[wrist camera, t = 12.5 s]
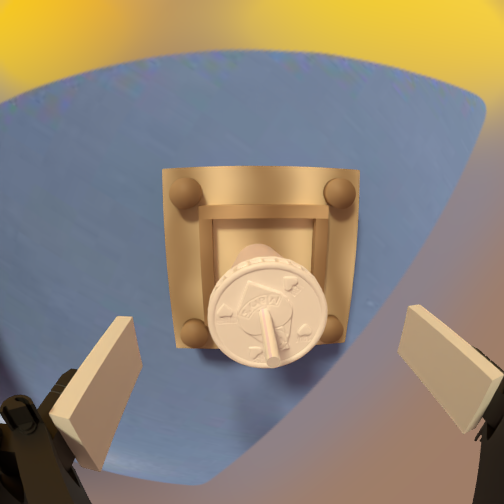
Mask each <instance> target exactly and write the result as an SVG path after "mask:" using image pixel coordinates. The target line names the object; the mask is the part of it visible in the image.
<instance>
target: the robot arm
mask: <svg viewBox="0 0 504 504" xmlns="http://www.w3.org/2000/svg"><path fill="white" fill-rule="evenodd" d="M398 354H399V355H400V356H401V357H402V358H403V360H404V361H405V362H406V363H407V364H408V365H409V367H410V368H411V369H412V370H413V372H414V373H415V374H416V375H417V376H418V378H419V379H420V380H421V381H422V382H423V384H424V385H425V386H426V387H427V389H428V390H429V391H430V392H431V393H432V395H433V396H434V397H435V398H436V400H437V401H438V402H439V403H440V405H441V406H442V407H443V408H444V410H445V411H446V412H447V414H448V415H449V416H450V417H451V419H452V420H453V421H454V422H455V424H456V425H457V426H458V428H459V429H460V430H461V432H462V433H463V434H464V433H466V432H468V431H470V430H472V429H474V428H476V426H477V425H478V423H479V421H480V420H481V418H482V417H483V418H484V419H485V423H484V425H483V426H482V428H481V429H480V431H479V433H478V434H477V436H476V437H475V441H477V439H478V438H479V436H480V435H482V438H481V439H480V442H481V453H480V462H479V469H478V476H477V482H476V488H475V493H474V498H473V503H472V504H504V371H503V370H502V369H501V368H500V367H498V366H497V365H496V364H495V363H494V362H493V361H490V359H489V358H488V357H487V356H485V355H484V354H483V353H482V352H481V351H480V350H479V349H477V348H475V347H473V346H471V345H469V344H468V343H467V342H466V341H465V340H463V339H462V338H461V337H460V336H459V335H457V334H456V333H455V332H454V331H452V330H451V329H450V328H449V327H447V326H446V325H445V324H444V323H442V322H441V321H440V320H439V319H437V318H436V317H435V316H434V315H432V314H431V313H430V312H429V311H427V310H426V309H425V308H423V307H422V306H421V305H413V306H408V309H407V314H406V319H405V323H404V328H403V332H402V337H401V340H400V344H399V348H398ZM141 369H142V361H141V357H140V352H139V348H138V343H137V338H136V333H135V328H134V323H133V317H125V316H117V317H116V319H115V320H114V321H113V323H112V324H111V325H110V327H109V328H108V329H107V331H106V332H105V333H104V335H103V336H102V337H101V339H100V340H99V341H98V343H97V344H96V345H95V347H94V348H93V349H92V351H91V352H90V354H89V355H88V356H87V358H86V359H85V361H84V362H83V363H82V365H81V366H80V368H79V369H78V370H77V369H70V370H69V371H67V372H66V373H64V374H63V375H62V376H61V377H60V378H59V380H58V381H57V382H56V385H54V387H53V388H52V389H51V392H49V394H48V395H47V396H46V398H45V399H44V401H43V402H42V403H41V405H40V406H39V408H38V409H36V407H35V405H34V403H33V401H32V399H31V398H29V397H28V396H25V395H14V396H12V397H9V398H8V399H6V400H5V401H4V402H3V403H2V405H1V407H0V414H1V416H2V417H3V419H4V420H5V422H6V424H2V423H0V504H92V503H91V502H90V500H89V498H88V496H87V494H86V492H85V490H84V488H83V486H82V484H81V482H80V480H79V477H78V476H77V473H76V471H75V469H74V468H73V466H72V463H73V461H74V459H75V458H76V460H77V461H78V463H79V464H80V465H81V467H84V468H88V469H91V470H95V471H99V472H101V469H102V466H103V464H104V461H105V458H106V455H107V453H108V450H109V447H110V445H111V442H112V439H113V437H114V434H115V432H116V429H117V427H118V424H119V422H120V419H121V416H122V414H123V412H124V409H125V407H126V404H127V402H128V399H129V397H130V394H131V392H132V390H133V387H134V385H135V383H136V380H137V378H138V376H139V373H140V371H141Z"/></svg>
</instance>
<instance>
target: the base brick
mask: <svg viewBox="0 0 504 504" xmlns="http://www.w3.org/2000/svg"><path fill="white" fill-rule="evenodd" d="M162 178H163V209H164V229H165V244H166V258H167V270H168V280H169V290H170V300H171V309H172V317H173V325H174V332H175V340H176V346H177V348H206V349H219V348H218V346H217V345H216V344H215V342H214V340H213V338H212V336H211V334H210V331H209V327H208V305H209V300H210V295H211V293H212V291H213V289H214V287H215V285H216V283H217V282H218V281H219V279H220V278H221V277H222V276H223V275H224V274H225V273H226V272H227V271H228V270H230V269H231V267H232V265H233V263H234V261H235V259H236V258H237V256H238V254H239V253H240V251H241V250H242V249H244V248H245V247H247V246H249V245H252V244H264V245H267V246H269V247H271V248H272V249H273V250H275V251H276V252H277V253H278V254H280V255H281V256H282V257H283V258H285V259H290V260H292V261H294V262H296V263H298V264H300V265H302V266H304V267H305V268H306V269H307V270H308V271H309V272H310V273H311V274H312V275H313V276H314V277H315V278H316V280H317V282H318V283H319V285H320V287H321V289H322V291H323V293H324V296H325V299H326V302H327V310H328V312H327V322H326V326H325V329H324V331H323V334H322V336H321V337H320V339H319V341H318V342H317V343H316V345H321V344H332V343H343V342H345V337H346V330H347V324H348V317H349V310H350V302H351V294H352V285H353V276H354V266H355V255H356V243H357V228H358V210H359V179H360V170H351V169H336V168H318V167H291V166H217V167H190V168H171V169H162Z"/></svg>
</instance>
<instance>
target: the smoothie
mask: <svg viewBox="0 0 504 504" xmlns="http://www.w3.org/2000/svg"><path fill="white" fill-rule="evenodd" d="M327 312H328V310H327V302H326V299H325V296H324V293H323V291H322V289H321V287H320V285H319V283H318V282H317V280H316V278H315V277H314V276H313V275H312V274H311V273H310V272H309V271H308V270H307V269H306V268H305V267H304V266H302V265H300V264H298V263H296V262H294V261H292V260H290V259H285V258H283V257H282V256H281V255H280V254H278V253H277V252H276V251H275V250H273V249H272V248H271V247H269V246H267V245H264V244H252V245H249V246H247V247H245V248H244V249H242V250H241V251H240V253H239V254H238V256H237V258H236V259H235V261H234V263H233V265H232V267H231V269H230V270H228V271H227V272H226V273H225V274H224V275H223V276H222V277H221V278H220V279H219V281H218V282H217V283H216V285H215V287H214V289H213V291H212V293H211V295H210V300H209V305H208V327H209V331H210V334H211V336H212V338H213V340H214V342H215V344H216V345H217V346H218V348H219V349H220V350H221V351H222V352H223V353H224V354H225V355H227V356H228V357H229V358H231V359H232V360H234V361H236V362H238V363H240V364H243V365H246V366H250V367H255V368H276V367H280V366H283V365H287V364H289V363H292V362H294V361H296V360H298V359H299V358H301V357H303V356H304V355H305V354H307V353H308V352H309V351H310V350H311V349H312V348H313V347H314V346H315V345H316V343H317V342H318V341H319V339H320V337H321V336H322V334H323V331H324V329H325V326H326V322H327Z"/></svg>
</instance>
